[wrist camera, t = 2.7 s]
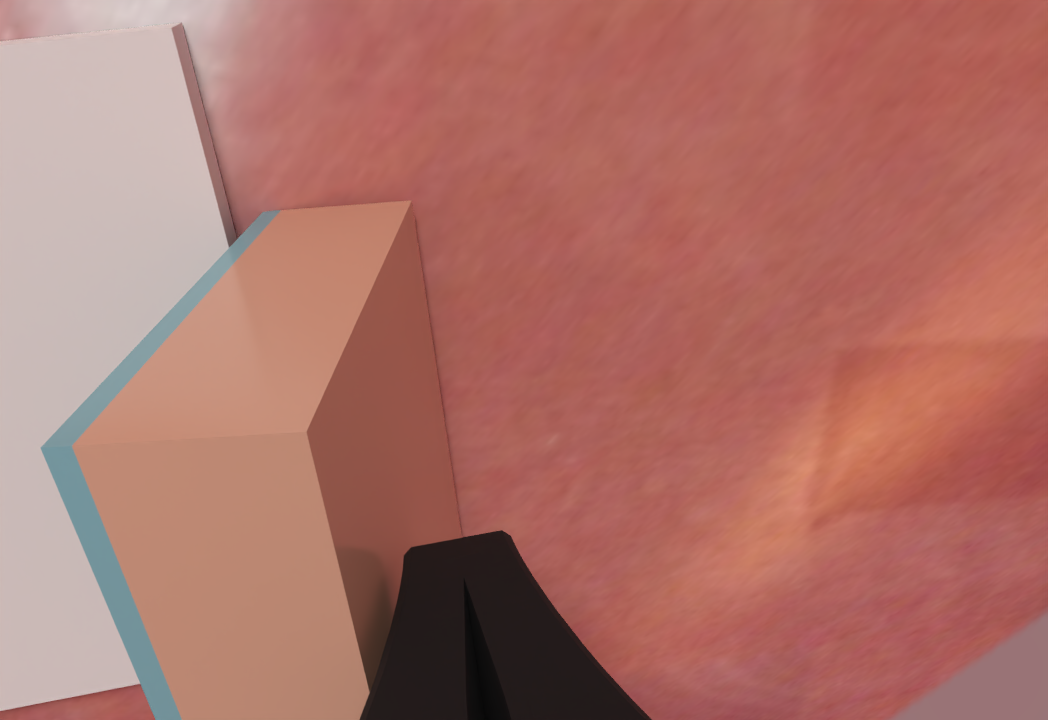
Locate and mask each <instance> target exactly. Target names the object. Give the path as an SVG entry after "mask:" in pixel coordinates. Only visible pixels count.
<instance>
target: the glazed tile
mask: <svg viewBox="0 0 1048 720" xmlns="http://www.w3.org/2000/svg"><path fill="white" fill-rule="evenodd" d="M41 451H42V453H43V455H44V458H45V460H46V462H47V465H48V467H49V469H50V472H51V474H52V476H53V479H54V481H55V484H56V486H57V488H58V491H59V493H60V495H61V498H62V500H63V502H64V505H65V507H66V509H67V512H68V514H69V517H70V519H71V521H72V524H73V526H74V528H75V531H76V533H77V535H78V538H79V540H80V542H81V545H82V547H83V550H84V552H85V554H86V557H87V559H88V561H89V564H90V566H91V568H92V571H93V573H94V575H95V578H96V580H97V583H98V585H99V587H100V590H101V592H102V594H103V597H104V599H105V601H106V604H107V606H108V609H109V611H110V613H111V616H112V618H113V620H114V623H115V625H116V627H117V630H118V632H119V634H120V637H121V639H122V642H123V644H124V646H125V649H126V651H127V653H128V656H129V658H130V660H131V663H132V665H133V667H134V670H135V672H136V675H137V677H138V679H139V682H140V684H141V686H142V689H143V691H144V693H145V696H146V698H147V700H148V703H149V705H150V708H151V710H152V712H153V715H154V717H155V719H156V720H360V717H361V714H362V712H363V709H364V706H365V704H366V701H367V698H368V696H369V693H370V691H371V688H372V685H373V682H374V679H375V676H376V673H377V670H378V667H379V664H380V660H381V657H382V654H383V651H384V647H385V644H386V641H387V637H388V634H389V631H390V627H391V623H392V619H393V615H394V611H395V607H396V603H397V599H398V594H399V589H400V584H401V577H402V571H403V558H404V555H405V553H406V552H407V551H408V550H409V549H410V548H411V547H414V546H420V545H425V544H431V543H436V542H441V541H447V540H452V539H458V538H462V534H461V527H460V520H459V514H458V507H457V500H456V493H455V487H454V480H453V473H452V467H451V460H450V453H449V447H448V440H447V433H446V426H445V420H444V413H443V406H442V400H441V393H440V386H439V380H438V373H437V366H436V359H435V353H434V346H433V339H432V333H431V326H430V319H429V312H428V306H427V299H426V292H425V286H424V279H423V272H422V266H421V259H420V252H419V245H418V239H417V232H416V225H415V219H414V212H413V205H412V200H411V201H398V202H384V203H371V204H358V205H344V206H331V207H318V208H304V209H291V210H278V211H267V212H262V214H261V215H260V216H259V217H258V218H257V219H256V220H255V221H254V222H253V223H252V224H251V225H250V226H249V227H248V228H247V229H246V230H245V232H244V233H243V234H242V235H241V236H240V237H239V238H238V239H237V240H236V241H235V242H234V243H233V244H232V245H231V246H230V247H229V248H228V250H227V251H226V252H225V253H224V254H223V255H222V256H221V257H220V258H219V259H218V260H217V261H216V262H215V263H214V264H213V265H212V267H211V268H210V269H209V270H208V271H207V272H206V273H205V274H204V275H203V276H202V277H201V278H200V279H199V280H198V281H197V282H196V283H195V285H194V286H193V287H192V288H191V289H190V290H189V291H188V292H187V293H186V294H185V295H184V296H183V297H182V298H181V299H180V300H179V301H178V303H177V304H176V305H175V306H174V307H173V308H172V309H171V310H170V311H169V312H168V313H167V314H166V315H165V316H164V317H163V318H162V320H161V321H160V322H159V323H158V324H157V325H156V326H155V327H154V328H153V329H152V330H151V331H150V332H149V333H148V334H147V335H146V336H145V338H144V339H143V340H142V341H141V342H140V343H139V344H138V345H137V346H136V347H135V348H134V349H133V350H132V351H131V352H130V353H129V354H128V356H127V357H126V358H125V359H124V360H123V361H122V362H121V363H120V364H119V365H118V366H117V367H116V368H115V369H114V370H113V371H112V372H111V374H110V375H109V376H108V377H107V378H106V379H105V380H104V381H103V382H102V383H101V384H100V385H99V386H98V387H97V388H96V389H95V391H94V392H93V393H92V394H91V395H90V396H89V397H88V398H87V399H86V400H85V401H84V402H83V403H82V404H81V405H80V406H79V407H78V409H77V410H76V411H75V412H74V413H73V414H72V415H71V416H70V417H69V418H68V419H67V420H66V421H65V422H64V423H63V424H62V425H61V427H60V428H59V429H58V430H57V431H56V432H55V433H54V434H53V435H52V436H51V437H50V438H49V439H48V440H47V441H46V442H45V443H44V445H43V446H42V447H41Z"/></svg>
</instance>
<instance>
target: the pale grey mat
mask: <svg viewBox="0 0 1048 720" xmlns="http://www.w3.org/2000/svg"><path fill="white" fill-rule="evenodd" d="M236 240H237V237H236V233H235V229H234V225H233V221H232V217H231V213H230V209H229V205H228V201H227V198H226V194H225V190H224V186H223V182H222V178H221V174H220V170H219V166H218V162H217V158H216V155H215V151H214V147H213V143H212V139H211V135H210V131H209V127H208V123H207V119H206V115H205V112H204V108H203V104H202V100H201V96H200V92H199V88H198V84H197V80H196V76H195V72H194V69H193V65H192V61H191V57H190V53H189V49H188V45H187V41H186V37H185V33H184V29H183V26H182V23H173V24H163V25H154V26H144V27H134V28H125V29H115V30H105V31H95V32H86V33H76V34H66V35H57V36H47V37H37V38H27V39H18V40H8V41H0V711H3V710H8V709H13V708H18V707H23V706H28V705H34V704H39V703H44V702H49V701H54V700H59V699H64V698H70V697H75V696H80V695H85V694H90V693H95V692H100V691H106V690H111V689H116V688H121V687H126V686H131V685H136V684H140V682H139V679H138V677H137V675H136V672H135V670H134V667H133V665H132V663H131V660H130V658H129V656H128V653H127V651H126V649H125V646H124V644H123V642H122V639H121V637H120V634H119V632H118V630H117V627H116V625H115V623H114V620H113V618H112V616H111V613H110V611H109V609H108V606H107V604H106V601H105V599H104V597H103V594H102V592H101V590H100V587H99V585H98V583H97V580H96V578H95V575H94V573H93V571H92V568H91V566H90V564H89V561H88V559H87V557H86V554H85V552H84V550H83V547H82V545H81V542H80V540H79V538H78V535H77V533H76V531H75V528H74V526H73V524H72V521H71V519H70V517H69V514H68V512H67V509H66V507H65V505H64V502H63V500H62V498H61V495H60V493H59V491H58V488H57V486H56V484H55V481H54V479H53V476H52V474H51V472H50V469H49V467H48V465H47V462H46V460H45V458H44V455H43V453H42V451H41V447H42V446H43V445H44V443H45V442H46V441H47V440H48V439H49V438H50V437H51V436H52V435H53V434H54V433H55V432H56V431H57V430H58V429H59V428H60V427H61V425H62V424H63V423H64V422H65V421H66V420H67V419H68V418H69V417H70V416H71V415H72V414H73V413H74V412H75V411H76V410H77V409H78V407H79V406H80V405H81V404H82V403H83V402H84V401H85V400H86V399H87V398H88V397H89V396H90V395H91V394H92V393H93V392H94V391H95V389H96V388H97V387H98V386H99V385H100V384H101V383H102V382H103V381H104V380H105V379H106V378H107V377H108V376H109V375H110V374H111V372H112V371H113V370H114V369H115V368H116V367H117V366H118V365H119V364H120V363H121V362H122V361H123V360H124V359H125V358H126V357H127V356H128V354H129V353H130V352H131V351H132V350H133V349H134V348H135V347H136V346H137V345H138V344H139V343H140V342H141V341H142V340H143V339H144V338H145V336H146V335H147V334H148V333H149V332H150V331H151V330H152V329H153V328H154V327H155V326H156V325H157V324H158V323H159V322H160V321H161V320H162V318H163V317H164V316H165V315H166V314H167V313H168V312H169V311H170V310H171V309H172V308H173V307H174V306H175V305H176V304H177V303H178V301H179V300H180V299H181V298H182V297H183V296H184V295H185V294H186V293H187V292H188V291H189V290H190V289H191V288H192V287H193V286H194V285H195V283H196V282H197V281H198V280H199V279H200V278H201V277H202V276H203V275H204V274H205V273H206V272H207V271H208V270H209V269H210V268H211V267H212V265H213V264H214V263H215V262H216V261H217V260H218V259H219V258H220V257H221V256H222V255H223V254H224V253H225V252H226V251H227V250H228V248H229V247H230V246H231V245H232V244H233V243H234V242H235V241H236Z"/></svg>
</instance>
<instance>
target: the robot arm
mask: <svg viewBox="0 0 1048 720" xmlns="http://www.w3.org/2000/svg"><path fill="white" fill-rule="evenodd" d="M360 720H652V719H651V718H649V716H648V715H647V714H646V713H645V712H644V711H643V710H642V709H641V708H640V707H639V706H638V705H637V704H636V703H635V702H634V701H633V700H632V699H631V698H630V697H629V696H628V695H627V694H626V693H625V692H624V691H623V689H622V688H621V687H620V686H619V685H618V684H617V683H616V682H615V681H614V679H613V678H612V677H611V676H610V675H609V674H608V673H607V672H606V671H605V669H604V668H603V667H602V666H601V665H600V664H599V663H598V661H597V660H596V659H595V658H594V657H593V656H592V654H591V653H590V652H589V651H588V650H587V648H586V647H585V646H584V645H583V644H582V642H581V641H580V640H579V638H578V637H577V636H576V635H575V633H574V632H573V631H572V629H571V628H570V627H569V626H568V624H567V623H566V622H565V621H564V619H563V618H562V617H561V615H560V614H559V613H558V612H557V610H556V609H555V607H554V606H553V605H552V603H551V602H550V601H549V599H548V598H547V596H546V595H545V593H544V592H543V590H542V589H541V587H540V586H539V585H538V583H537V582H536V580H535V579H534V577H533V576H532V574H531V572H530V571H529V569H528V568H527V566H526V564H525V563H524V561H523V559H522V557H521V556H520V554H519V552H518V550H517V548H516V546H515V544H514V542H513V540H512V538H511V536H510V535H508V534H507V533H505V532H504V531H502V530H501V531H496V532H490V533H485V534H480V535H474V536H469V537H463V538H458V539H452V540H447V541H441V542H436V543H431V544H425V545H420V546H414V547H411V548H410V549H409V550H408V551H407V552H406V553H405V555H404V558H403V571H402V577H401V584H400V589H399V594H398V599H397V603H396V607H395V611H394V615H393V619H392V623H391V627H390V631H389V634H388V637H387V641H386V644H385V647H384V651H383V654H382V657H381V660H380V664H379V667H378V670H377V673H376V676H375V679H374V682H373V685H372V688H371V691H370V693H369V696H368V698H367V701H366V704H365V706H364V709H363V712H362V714H361V717H360Z"/></svg>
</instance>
